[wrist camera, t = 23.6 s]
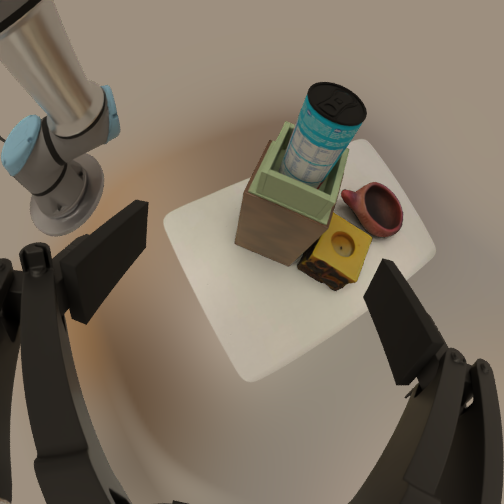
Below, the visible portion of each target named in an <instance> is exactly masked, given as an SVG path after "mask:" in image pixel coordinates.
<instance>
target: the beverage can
mask: <svg viewBox="0 0 504 504" xmlns="http://www.w3.org/2000/svg"><path fill="white" fill-rule="evenodd" d="M366 115H367V112H366V108H365V106H364V104H363V102H362V101H361V99H359V97H358V96H357V95H356V94H354V93H353V92H352V91H350V90H349V89H347V88H345V87H343V86H341V85H338V84H335V83H330V82H319V83H315V84H313V85H312V86H311V87H310V88H309V90H308V93H307V96H306V98H305V101H304V103H303V106H302V108H301V111H300V114H299V117H298V119H297V122H296V125H295V127H294V130H293V133H292V135H291V138H290V141H289V144H288V146H287V149H286V152H285V155H284V157H283V160H282V163H281V166H280V168H279V173H281V174H283V175H286V176H288V177H290V178H293V179H295V180H297V181H300V182H302V183H304V184H307V185H309V186H311V187H313V188H316V189H319V188H320V186H321V185H322V183H323V182H324V180H325V179H326V177H327V176H328V174H329V173H330V171H331V170H332V168H333V167H334V165H335V164H336V163H337V161H338V160H339V158H340V157H341V155H342V154H343V152H344V151H345V149H346V148H347V146H348V145H349V143H350V141H351V140H352V138H353V137H354V135H355V134H356V132H357V131H358V129H359V127H360V126H361V124H362V122H363V121H364V120H365V118H366Z"/></svg>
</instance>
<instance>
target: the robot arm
mask: <svg viewBox="0 0 504 504" xmlns="http://www.w3.org/2000/svg"><path fill="white" fill-rule="evenodd" d="M0 61H1V62H2V63H3V64H4V66H5V67H6V68H7V69H8V70H9V71H10V73H11V74H12V75H13V76H14V77H15V78H16V80H17V81H18V82H19V83H20V84H21V86H22V87H23V88H24V89H25V90H26V91H27V92H28V93H29V95H30V96H31V97H32V98H33V99H34V100H35V101H36V102H37V103H38V104H39V106H40V107H41V108H42V109H43V110H44V111H45V112H46V113H47V116H46V117H44V118H43V119H40V117H38V116H37V115H29V116H27V117H26V118H24V119H23V120H22V121H20V122H19V123H18V124H17V125H16V126H15V127H14V129H13V130H12V131H11V133H10V134H9V136H8V138H7V139H6V140H4V139H3V138H2V137H1V136H0V140H1V141H3V142H4V146H3V149H2V154H1V161H2V164H3V166H4V167H5V169H6V170H7V171H8V172H9V174H10V175H11V176H13V177H14V178H15V179H16V180H17V181H18V182H19V183H21V185H23V186H24V187H25V188H26V189H27V190H28V191H29V192H31V193H32V194H33V196H34V198H35V201H36V203H37V205H38V207H39V209H40V211H41V212H42V213H43V214H45V215H46V216H47V217H49V218H52V219H58V218H62V217H64V216H66V215H68V214H69V213H71V212H72V211H73V210H74V209H75V208H76V207H77V206H78V205H79V204H80V202H81V201H82V199H83V197H84V195H85V193H86V190H87V186H88V176H87V173H86V171H85V169H84V168H83V167H82V165H81V164H79V163H78V162H76V161H74V160H73V159H75V158H77V157H79V156H81V155H83V154H85V153H86V152H88V151H90V150H92V149H94V148H96V147H98V146H100V145H102V144H106V143H108V141H110V140H112V139H114V138H116V137H117V136H118V135H119V133H120V124H119V119H118V115H117V111H116V105H115V101H114V98H113V94H112V91H111V88H110V86H108V85H105V86H99V85H98V84H97V83H95V82H93V81H89V80H87V78H86V75H85V73H84V71H83V69H82V67H81V65H80V63H79V61H78V58H77V56H76V54H75V52H74V50H73V47H72V45H71V43H70V40H69V38H68V36H67V33H66V31H65V29H64V26H63V24H62V21H61V19H60V16H59V14H58V11H57V9H56V6H55V4H54V1H53V0H0ZM147 216H148V202H145V201H140V200H135V201H133V202H132V203H131V204H130V205H128V206H127V207H125V208H124V209H123V210H121V211H120V212H119V213H117V214H116V215H115V216H113V217H112V218H111V219H109V220H108V221H107V222H106V223H104V224H103V225H102V226H100V227H99V228H98V229H97V230H96V231H94V232H93V233H92V234H90V235H88V234H85V235H83V236H80V237H78V238H76V239H75V240H74V241H73V242H72V243H71V244H70V245H68V246H67V247H66V248H65V249H63V250H62V251H61V252H60V253H58V254H57V255H56V256H55V257H54V258H53V259H52V258H51V251H50V247H49V246H48V245H47V244H46V243H41V242H40V243H32V244H29V245H27V246H25V247H24V248H23V249H22V250H21V251H20V253H19V257H20V261H21V265H22V269H23V271H17V270H13V267H12V263H11V261H10V260H8V259H5V258H2V259H0V504H11V501H12V478H11V461H10V416H11V402H12V391H13V383H14V377H15V370H16V364H17V358H18V353H19V348H20V344H21V361H22V373H23V383H24V390H25V398H26V404H27V409H28V415H29V420H30V425H31V429H32V434H33V438H34V442H35V446H36V449H37V458H36V459H35V460H34V469H35V473H36V477H37V480H38V483H39V485H40V488H41V491H42V493H43V496H44V498H45V501H46V503H47V504H132V503H131V501H130V499H129V498H128V496H127V494H126V493H125V491H124V490H123V488H122V486H121V484H120V483H119V481H118V479H117V478H116V476H115V475H114V473H113V471H112V469H111V467H110V465H109V463H108V461H107V459H106V457H105V454H104V452H103V450H102V447H101V445H100V443H99V440H98V438H97V435H96V433H95V430H94V428H93V425H92V422H91V419H90V416H89V413H88V410H87V407H86V404H85V401H84V398H83V395H82V391H81V388H80V384H79V381H78V377H77V373H76V369H75V365H74V361H73V357H72V351H71V347H70V342H69V337H68V331H67V325H66V320H65V316H64V314H65V312H66V311H67V310H68V309H69V310H70V314H71V317H72V319H74V320H76V321H79V322H81V323H84V324H86V325H87V323H88V322H89V320H90V319H91V318H92V316H93V315H94V313H95V312H96V311H97V309H98V308H99V306H100V305H101V304H102V302H103V301H104V300H105V298H106V297H107V296H108V294H109V293H110V292H111V290H112V289H113V288H114V286H115V285H116V284H117V283H118V281H119V280H120V279H121V278H122V276H123V275H124V274H125V272H126V271H127V270H128V269H129V267H130V266H131V265H132V264H133V262H134V261H135V260H136V259H137V258H138V256H139V255H140V254H141V253H142V252H143V250H144V249H145V248H146V234H147ZM363 298H364V300H365V302H366V305H367V307H368V310H369V312H370V314H371V317H372V319H373V322H374V324H375V327H376V330H377V332H378V334H379V337H380V340H381V343H382V345H383V348H384V351H385V354H386V356H387V359H388V362H389V365H390V368H391V371H392V374H393V377H394V379H395V382H396V385H409V384H410V383H411V382H412V381H413V380H414V379H415V378H416V377H417V379H418V381H419V383H418V384H417V385H416V386H415V387H414V388H413V389H412V390H411V391H410V392H409V393H408V394H407V395H406V396H405V398H407V397H408V396H410V399H409V401H408V403H407V406H406V408H405V410H404V412H403V415H402V417H401V419H400V421H399V423H398V425H397V427H396V429H395V431H394V433H393V435H392V437H391V439H390V440H389V443H388V444H387V446H386V448H385V450H384V451H383V453H382V455H381V457H380V458H379V460H378V462H377V464H376V465H375V467H374V468H373V470H372V471H371V473H370V475H369V476H368V478H367V479H366V481H365V482H364V484H363V485H362V487H361V488H360V490H359V491H358V492H357V494H356V495H355V496H354V498H353V499H352V500H351V501H350V502H349V503H348V504H501V499H502V487H503V439H502V438H503V437H502V425H501V416H500V409H499V402H498V396H497V390H496V385H495V379H494V375H493V371H492V368H491V367H490V364H489V363H488V362H487V361H485V360H483V359H477V361H476V362H475V363H474V364H473V365H469V364H466V360H465V358H464V356H463V355H462V354H461V353H460V352H459V351H458V350H456V349H454V348H448V346H447V344H446V342H445V341H444V339H443V337H442V335H441V333H440V332H439V331H438V328H437V326H436V325H435V323H434V321H433V320H432V318H431V316H430V315H429V314H428V313H427V312H426V311H425V309H424V307H423V306H422V304H421V303H420V301H419V299H418V298H417V296H416V295H415V293H414V292H413V290H412V288H411V287H410V285H409V284H408V282H407V281H406V279H405V278H404V276H403V275H402V274H401V272H400V271H399V269H398V268H397V266H396V265H395V263H394V262H393V261H390V260H387V259H383V258H382V261H381V263H380V265H379V267H378V269H377V271H376V273H375V275H374V277H373V279H372V281H371V283H370V285H369V287H368V289H367V291H366V293H365V294H364V296H363ZM472 397H473V403H472V404H471V405H470V406H469V407H466V403H467V402H468V401H469V400H470V399H471V398H472ZM160 504H167V503H160ZM172 504H187V503H182V502H178V501H174V500H173V503H172Z"/></svg>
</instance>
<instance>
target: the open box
mask: <svg viewBox="0 0 504 504" xmlns="http://www.w3.org/2000/svg"><path fill="white" fill-rule="evenodd" d="M294 127H295V125H294V124H291V123H289V122H285V124H284V126H283V128H282V130H281V132H280V134H279V136H278V138H277V140H276V141H272V143H271V145H270V147H269V149H268V151H267V153H266V155H265V157H264V159H263V161H262V163H261V165H260V167H259V169H258V171H257V174H256V176H255V178H254V180H253V182H252V184H251V186H250V188H249V190H248V192H249V193H251V194H254V195H256V196H259V197H261V198H264V199H266V200H268V201H271V202H273V203H276V204H278V205H280V206H283V207H285V208H287V209H290V210H292V211H294V212H297V213H299V214H301V215H304V216H306V217H308V218H310V219H313V220H315V221H317V222H319V223H322V224H324V225H327V222H328V219H329V215H330V212H331V208H332V207H333V205H334V204H335V202H336V199H337V195H338V192H339V188H340V184H341V180H342V177H343V173H344V169H345V165H346V161H347V157H348V153H349V149H348V148H346V149H345V151H344V152H343V154H342V155H341V157H340V158H339V160H338V161H337V163H336V164H335V165H334V167H333V168H332V170H331V171H330V173H329V174H328V176H327V177H326V179H325V180H324V182H323V183H322V185H321V186H320V188H319V189H316V188H313V187H311V186H309V185H307V184H304V183H302V182H300V181H297V180H295V179H293V178H290V177H288V176H286V175H283V174H281V173H279V168H280V166H281V163H282V160H283V157H284V155H285V152H286V149H287V146H288V144H289V141H290V138H291V135H292V133H293V130H294Z"/></svg>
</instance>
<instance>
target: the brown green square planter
mask: <svg viewBox="0 0 504 504" xmlns="http://www.w3.org/2000/svg"><path fill="white" fill-rule="evenodd" d="M271 143H272V141H271V140H269V142H268V144H267V146H266V148H265V150H264V152H263V154H262V156H261V158H260V160H259V162H258V164H257V166H256V168H255V170H254V172H253V174H252V176H251V178H250V180H249V182H248V184H247V186H246V188H245V191H244V193H243V199H242V204H241V210H240V216H239V221H238V227H237V233H236V238H235V244H236V245H239V246H241V247H243V248H246V249H248V250H251V251H253V252H255V253H258V254H260V255H262V256H265V257H267V258H270V259H272V260H274V261H277V262H279V263H282V264H284V265H286V266H290V265H291V264H292V263H293V262H294V261H295V260H296V259H297V258H298V257H299V256H300V255H301V254H302V253H304V252H305V251H306V250H307V249H308V248H309V247H310V246H311V245H312V244H313V243H314V242H315V241H316V240H317V239H318V238H319V237H320V236H321V235H322V234H323V233H324V232H325V231H326V230H327V229H328V228H329V225H330V222H331V218H332V215H333V212H334V208H335V204H336V202H335V204H334V205H333V207H332V208H331V212H330V215H329V219H328V222H327V225H324V224H322V223H319V222H317V221H315V220H313V219H310V218H308V217H306V216H304V215H301V214H299V213H297V212H294V211H292V210H290V209H287V208H285V207H283V206H280V205H278V204H276V203H273V202H271V201H268V200H266V199H264V198H261V197H259V196H256V195H254V194H251V193H249V192H248V190H249V188H250V186H251V184H252V182H253V180H254V178H255V176H256V174H257V171H258V169H259V167H260V165H261V163H262V161H263V159H264V157H265V155H266V153H267V151H268V149H269V147H270V145H271ZM343 175H344V173H343ZM342 179H343V177H342ZM341 182H342V180H341ZM340 186H341V184H340ZM339 190H340V188H339ZM338 194H339V192H338ZM337 197H338V195H337ZM336 201H337V199H336Z"/></svg>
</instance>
